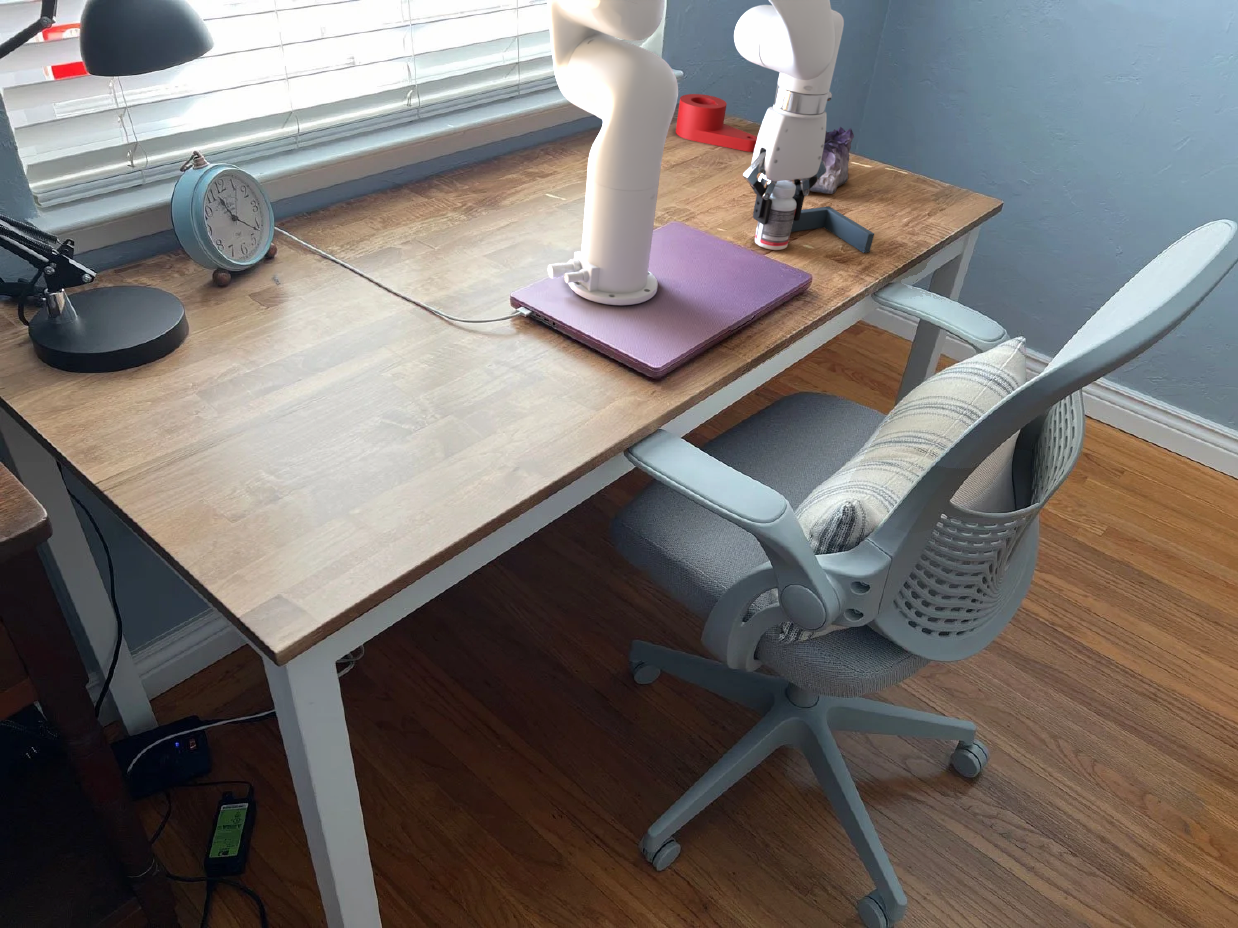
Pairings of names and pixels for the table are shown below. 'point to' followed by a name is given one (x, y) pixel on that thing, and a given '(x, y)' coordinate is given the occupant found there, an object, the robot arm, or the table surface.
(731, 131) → the lever
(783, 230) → the pill bottle
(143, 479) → the table surface
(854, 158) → the table surface
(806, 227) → the corner
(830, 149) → the geode
